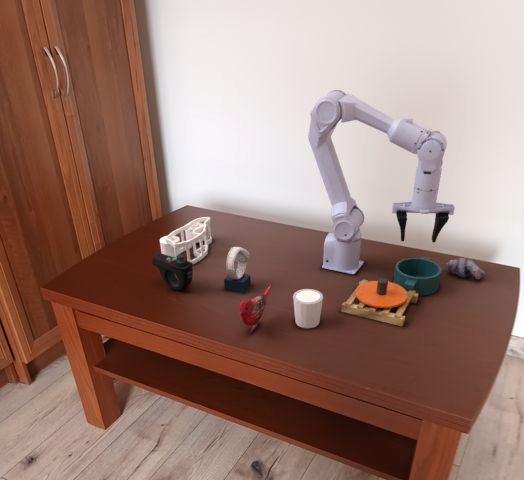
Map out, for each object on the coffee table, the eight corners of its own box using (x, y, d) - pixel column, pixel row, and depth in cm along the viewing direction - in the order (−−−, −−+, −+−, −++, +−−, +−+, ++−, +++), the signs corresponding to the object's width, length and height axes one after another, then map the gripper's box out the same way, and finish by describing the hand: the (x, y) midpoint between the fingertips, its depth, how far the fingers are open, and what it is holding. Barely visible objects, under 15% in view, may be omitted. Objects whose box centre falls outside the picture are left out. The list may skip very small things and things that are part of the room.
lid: (348, 303, 125) (349, 286, 123) (365, 280, 134) (366, 264, 131) (398, 315, 120) (401, 298, 118) (413, 290, 129) (415, 274, 126)
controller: (187, 297, 135) (182, 261, 129) (153, 284, 141) (147, 249, 135) (198, 290, 137) (194, 255, 132) (164, 277, 143) (159, 243, 138)
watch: (253, 282, 140) (252, 243, 134) (241, 296, 134) (239, 257, 128) (234, 278, 142) (232, 240, 135) (221, 292, 136) (218, 253, 129)
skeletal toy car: (197, 236, 165) (195, 213, 160) (226, 243, 160) (224, 220, 155) (154, 261, 151) (150, 237, 147) (183, 270, 146) (180, 246, 142)
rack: (341, 311, 127) (341, 302, 126) (359, 287, 136) (360, 278, 135) (402, 326, 121) (403, 317, 120) (417, 300, 130) (419, 291, 129)
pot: (384, 294, 133) (386, 277, 130) (403, 267, 145) (405, 250, 142) (429, 304, 129) (432, 287, 126) (444, 275, 140) (448, 258, 137)
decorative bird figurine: (235, 343, 118) (233, 304, 112) (267, 304, 131) (266, 268, 125) (247, 345, 117) (245, 307, 111) (277, 306, 130) (277, 270, 124)
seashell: (482, 283, 139) (444, 276, 143) (488, 263, 138) (449, 257, 143) (481, 279, 134) (441, 272, 138) (487, 258, 134) (447, 252, 138)
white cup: (313, 332, 120) (314, 306, 116) (287, 324, 123) (287, 298, 119) (327, 318, 125) (328, 292, 121) (301, 311, 128) (301, 285, 124)
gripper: (396, 192, 124) (389, 245, 132) (460, 193, 122) (449, 248, 130) (394, 182, 129) (388, 234, 137) (455, 183, 127) (445, 236, 135)
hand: (417, 240), depth 134 cm, fingers open, 7 cm apart
